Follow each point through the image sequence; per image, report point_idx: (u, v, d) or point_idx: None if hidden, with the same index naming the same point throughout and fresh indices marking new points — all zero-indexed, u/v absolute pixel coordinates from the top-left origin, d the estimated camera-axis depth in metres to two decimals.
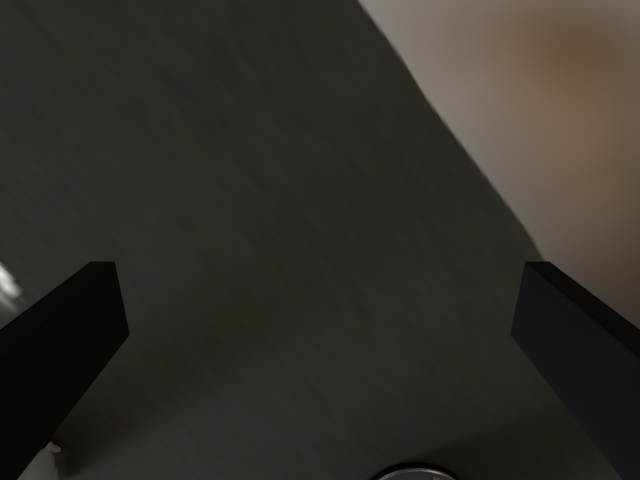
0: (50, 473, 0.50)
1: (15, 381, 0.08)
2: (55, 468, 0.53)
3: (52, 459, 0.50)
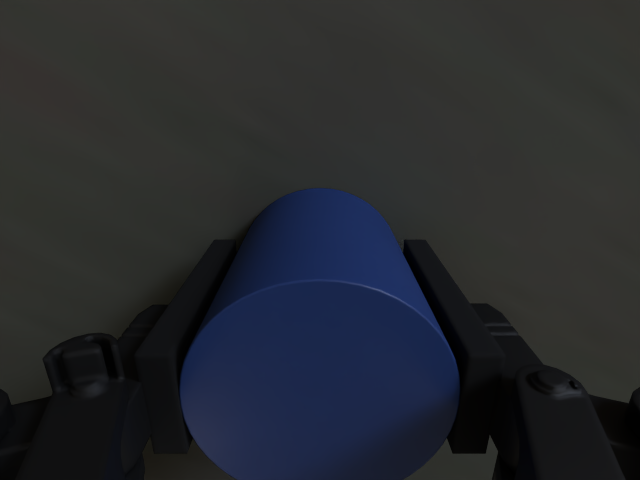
0: None
1: None
2: None
3: None
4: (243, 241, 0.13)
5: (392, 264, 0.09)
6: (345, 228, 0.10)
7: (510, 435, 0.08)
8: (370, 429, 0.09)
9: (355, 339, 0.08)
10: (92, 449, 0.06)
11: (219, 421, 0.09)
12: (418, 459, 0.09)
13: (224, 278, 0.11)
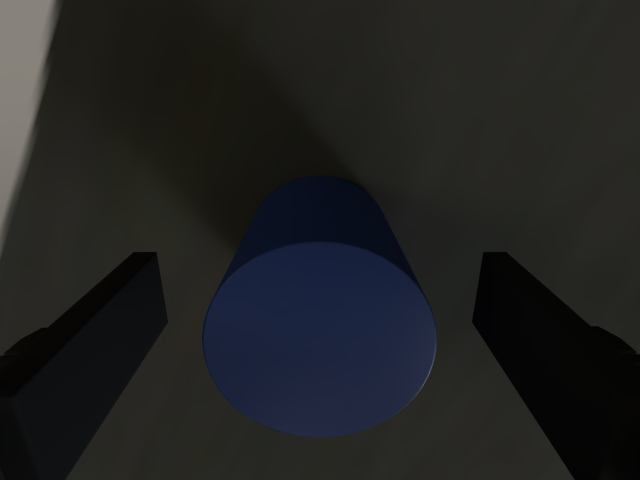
0: None
1: (83, 358, 0.09)
2: None
3: None
4: (252, 222, 0.15)
5: (381, 235, 0.11)
6: (341, 207, 0.12)
7: None
8: (361, 372, 0.10)
9: (349, 293, 0.10)
10: None
11: (235, 365, 0.10)
12: (402, 399, 0.11)
13: (237, 250, 0.12)
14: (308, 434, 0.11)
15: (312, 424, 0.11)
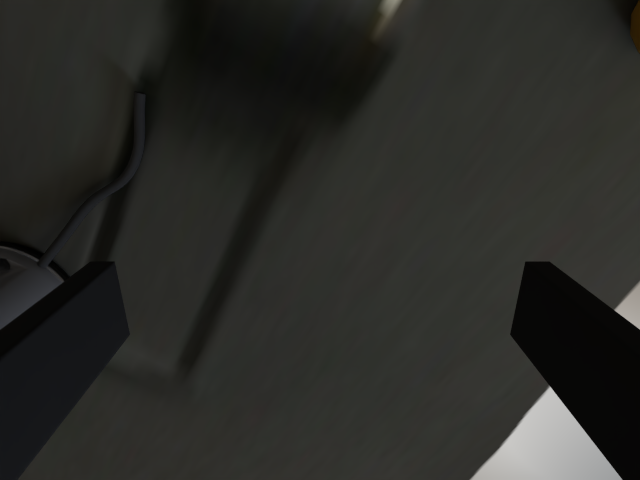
0: None
1: (15, 381, 0.08)
2: None
3: None
4: None
5: None
6: None
7: None
8: None
9: None
10: None
11: None
12: None
13: None
14: None
15: None
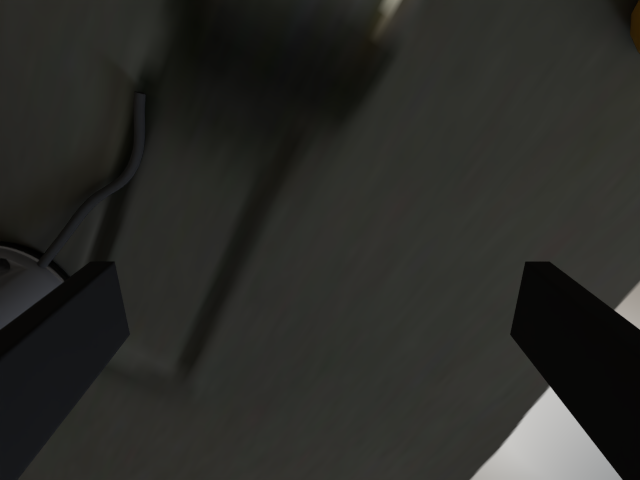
0: None
1: (15, 381, 0.08)
2: None
3: None
4: None
5: None
6: None
7: None
8: None
9: None
10: None
11: None
12: None
13: None
14: None
15: None
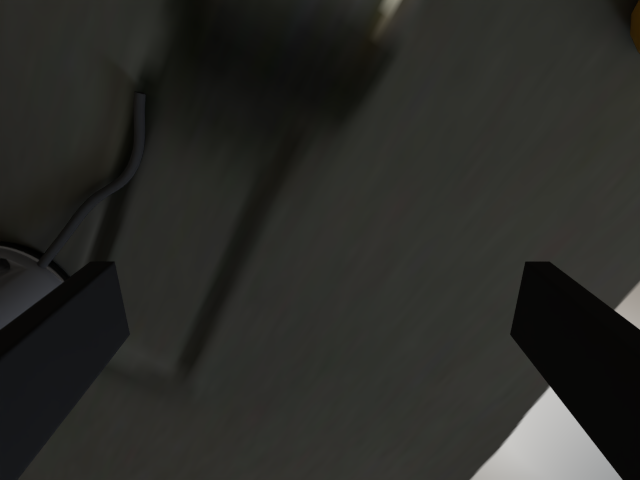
0: None
1: (15, 381, 0.08)
2: None
3: None
4: None
5: None
6: None
7: None
8: None
9: None
10: None
11: None
12: None
13: None
14: None
15: None
